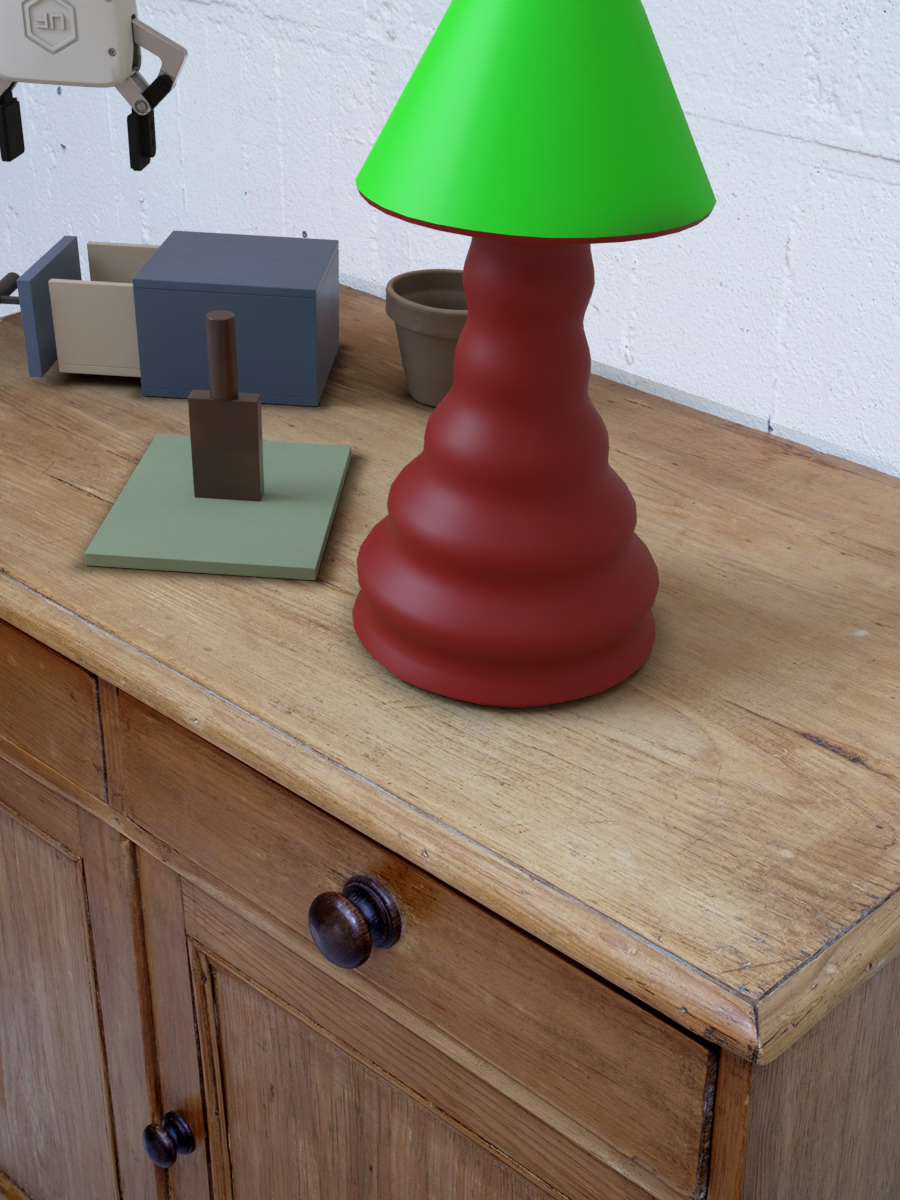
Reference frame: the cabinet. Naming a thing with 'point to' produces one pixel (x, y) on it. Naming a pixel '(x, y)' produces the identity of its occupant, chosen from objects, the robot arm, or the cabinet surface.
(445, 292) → the flower pot
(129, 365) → the drawer
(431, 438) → the table lamp
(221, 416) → the paddle
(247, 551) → the mat
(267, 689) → the cabinet surface
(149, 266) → the cabinet
